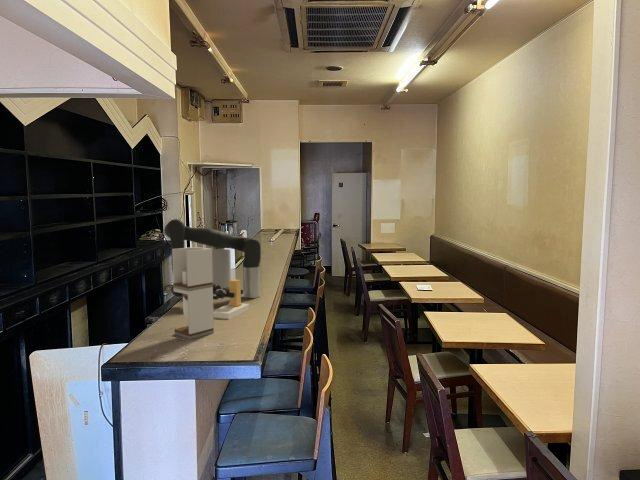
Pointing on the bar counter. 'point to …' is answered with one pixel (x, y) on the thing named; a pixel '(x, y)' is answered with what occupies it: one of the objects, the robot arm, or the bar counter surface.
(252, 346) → the bar counter surface
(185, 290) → the white tower
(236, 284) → the plug
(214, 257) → the cylinder vase
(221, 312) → the white socket board
